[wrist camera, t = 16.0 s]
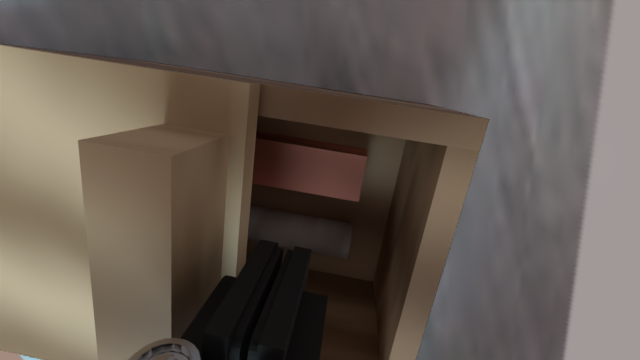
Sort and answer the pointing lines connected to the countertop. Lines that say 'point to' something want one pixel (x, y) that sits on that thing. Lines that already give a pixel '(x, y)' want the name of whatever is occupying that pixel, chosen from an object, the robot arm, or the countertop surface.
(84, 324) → the lid
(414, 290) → the open wooden box
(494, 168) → the countertop surface
